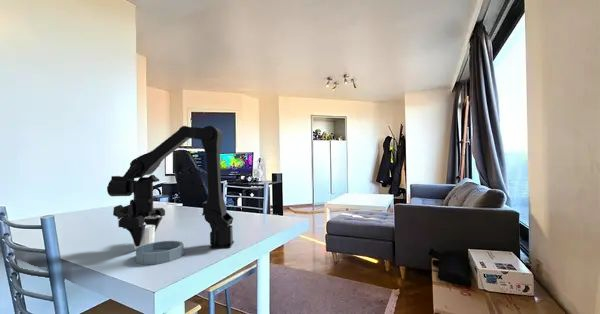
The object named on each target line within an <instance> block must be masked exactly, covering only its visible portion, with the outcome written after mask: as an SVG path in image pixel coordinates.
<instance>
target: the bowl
mask: <svg viewBox="0 0 600 314" xmlns="http://www.w3.org/2000/svg"><path fill="white" fill-rule="evenodd" d="M184 250H185V247H184V243H183V241H180V240H179V241H178V240H161V241H154V242H153V243H149V244H146V245H142V246H140V247H138V248H137V249H136V250H135V262H136V263H137V264H139V265H140V264H141V265H158V264H163V263H169V262H173V261H174V260H178V259H180V258H181V257H182V256H184V254H185V251H184Z"/></svg>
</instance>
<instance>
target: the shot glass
mask: <svg viewBox="0 0 600 314" xmlns="http://www.w3.org/2000/svg"><path fill="white" fill-rule="evenodd" d="M145 225H146V224H145ZM155 233H156V231H155V225H146V226H145V230H144V233H143V237H142V240H141V243H140V246H142V245H146V244H149V243H153V242H155V236H156V235H155ZM140 246H135V243H134V242H133V248H134V250H135V251H136V249H137V248H138V247H140Z"/></svg>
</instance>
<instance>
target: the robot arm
mask: <svg viewBox="0 0 600 314" xmlns="http://www.w3.org/2000/svg"><path fill="white" fill-rule="evenodd" d="M223 138H224V135H223V132H222V130H221V129H219V128H217V127H215V126H212V125H207V126H204V127H197V126H196V127H193V126H188V125H183V126H180V128H179V129H178V130H177V131H175V132H174V133H173V134H171V135H170V136H169V137H168V138H166V139H164V141H163V142H162V143H160V144H159V145H158V146H156V147H155V148H154V149H152V150H150V151H149V152H147V153H144V154H141V155H140V156H137V157H136V158H134V159H132V161H131V162H130V163H129V168H127V170H126V172H125V173H124V175H121V176H120V175H114V176H113V175H111V179H110V180H109V182H108V185H107V186H106V191H107V194H108V196H110V197H130V196H132V195H133V198H132V199H131V200H130V201H129V204H128V205H125V206H123V205H122V204H119V205H116V206H113V211H112V212H113V214H112V215H113V216H114V217H117V220H118V221H117V223H118V224H117V225H118V228H122V229H123V230H124V229H125V230H127V231H128V232H129V233H130V237H131V238H132V240H133V244H134V243H135V246H140V243H141V240H142V237H143V233H144V230H145V226H146V225H155V232H156V231H157V229H158V226H159V225H160V224H161V221H162V219H163V217H164V216H165V215H166V210H165V209H164V208H163V207H154V202H155V201H156V200H157V199H156V198H157V197H154V183H156V182H160V179H159V178H158V177H157V176H156V175H155V174H153V173H154V172H155V171H156V170H157V169H158V168H159V167H160V165H161V163H162V161H164V159H166V158H167V157H168V156H170V155H171V154H172V153H173V152H174V151H176V150H177V149H178V148H180V147H181V146H182V145H184V144H185V143H186V142H187V141H189V140H190V139H194V140H200V141H201V145H202V148H203V150H204V153H205V157H206V158H205V159H206V164H205V165H206V180H207V199H206V201H204V202H202V203H201V207H202V214H201V216H202V217H203V216H204V220H205V222H207V223H208V224H209V227H210V229H211V231H210V233H209V244H210V246H209V249H222V248H223V249H224V248H225V249H226V248H227V249H228V248H231V247H232V245H234V243H235V240H234V239H233V236H234V235H233V234H234V233H233V225H232V224H233V220H234V217H233V216H232V215H230V213H228V210H227V207H226V203H225V199H224V197H223V194H222V181H221V178H222V177H221V162H220V161H221V160H220V159H221V158H220V155H221V154H220V153H221V149H222V146H223ZM135 179H137V180H135Z"/></svg>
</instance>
